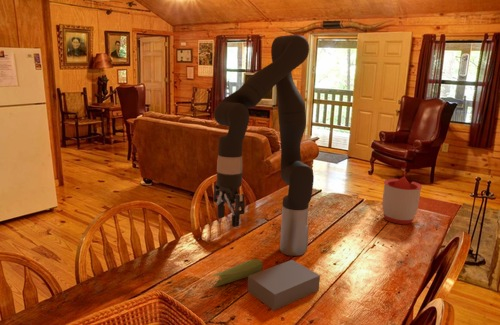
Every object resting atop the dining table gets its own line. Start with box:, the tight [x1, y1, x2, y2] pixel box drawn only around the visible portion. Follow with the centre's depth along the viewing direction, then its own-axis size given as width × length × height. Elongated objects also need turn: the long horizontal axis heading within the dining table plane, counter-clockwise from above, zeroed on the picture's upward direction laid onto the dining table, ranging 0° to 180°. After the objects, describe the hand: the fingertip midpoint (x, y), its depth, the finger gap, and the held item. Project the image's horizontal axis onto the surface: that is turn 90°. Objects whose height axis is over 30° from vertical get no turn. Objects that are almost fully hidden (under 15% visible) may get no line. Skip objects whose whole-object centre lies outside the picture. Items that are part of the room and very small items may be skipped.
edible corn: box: [213, 258, 264, 288], centre depth 127 cm, size 5×20×5 cm
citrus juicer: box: [382, 176, 423, 225], centre depth 180 cm, size 16×17×20 cm
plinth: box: [247, 259, 321, 311], centre depth 121 cm, size 18×12×5 cm, turn 128°
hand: (227, 221), depth 124 cm, fingers open, 8 cm apart
